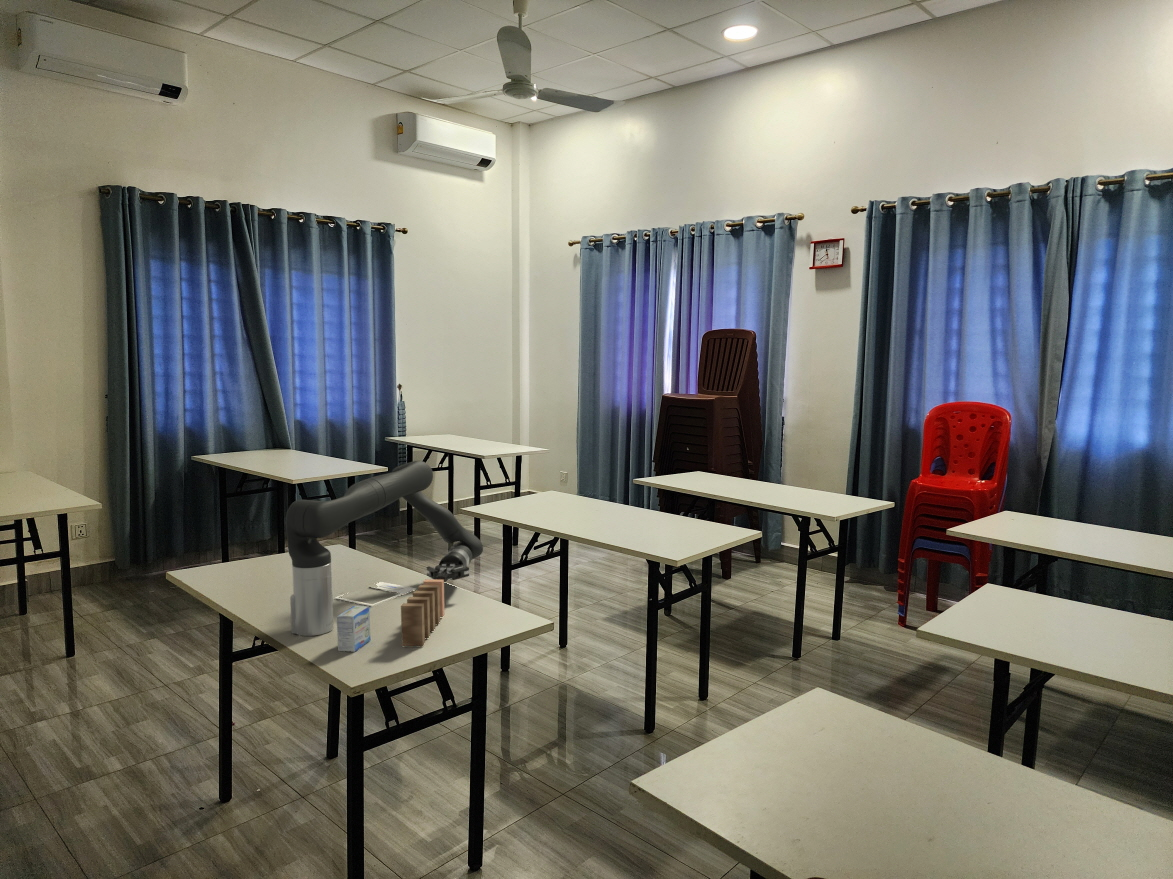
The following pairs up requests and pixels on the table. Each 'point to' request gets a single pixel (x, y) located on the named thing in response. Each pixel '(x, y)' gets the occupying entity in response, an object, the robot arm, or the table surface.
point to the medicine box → (353, 628)
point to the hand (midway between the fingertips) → (440, 580)
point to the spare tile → (441, 591)
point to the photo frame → (389, 588)
